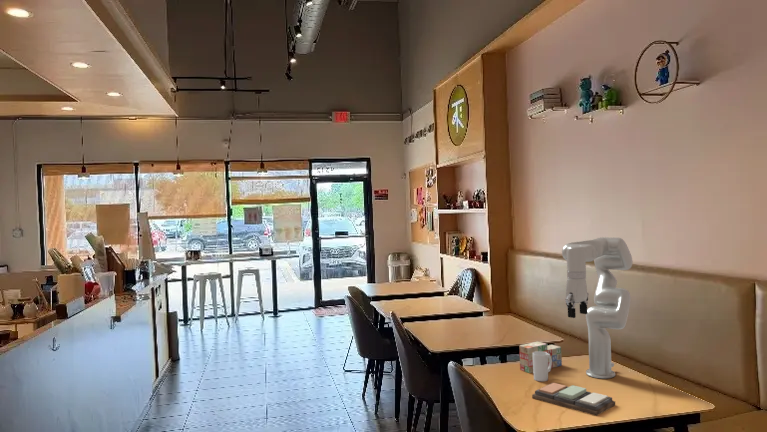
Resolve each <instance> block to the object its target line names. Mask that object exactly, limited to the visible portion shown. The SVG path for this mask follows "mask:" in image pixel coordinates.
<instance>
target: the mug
mask: <svg viewBox="0 0 767 432" xmlns="http://www.w3.org/2000/svg"><path fill="white" fill-rule="evenodd" d="M548 358H549V361H550V363H549V367H548ZM551 366H552V359H551V356H550V354H548V353H547V352H542V351H536V352H533V372H532V374H533V380H534V381H537V382H547V381H549V372H551V370H552V368H551Z"/></svg>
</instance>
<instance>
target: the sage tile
mask: <svg viewBox="0 0 767 432" xmlns="http://www.w3.org/2000/svg"><path fill="white" fill-rule="evenodd" d="M567 387H568V388H566V389H564V390H562V391H560V392H559V396H561V397H565V398H568V399H572V400H573V399H575V398H576V397H578V396H580V395H582V394H584V393H586V391H587V388H586V387H582V386H577V385H570V386H567Z"/></svg>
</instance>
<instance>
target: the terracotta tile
mask: <svg viewBox="0 0 767 432" xmlns="http://www.w3.org/2000/svg"><path fill="white" fill-rule="evenodd" d="M551 383H552V384H551ZM551 383H549V384H546V385H545V386H542V387H543V388H542V387H540V388H541V389H540V388H539V391H540V392H544V393H548V394H552V395H553V394H555V393H557V392H559V391H561V390H563V389H565V388H566V386H567V385H564V384H559V383H556V382H551Z"/></svg>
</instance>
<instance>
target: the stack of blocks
mask: <svg viewBox="0 0 767 432" xmlns="http://www.w3.org/2000/svg"><path fill="white" fill-rule="evenodd" d="M518 349H519V354H518V355H519V369H520V371H521V372H522V371H523V372H525V373H528V374H530V373H532V374H533V352H536V351H542V352H547V353H548V354H550V356H551V359H552V366H551V369H553V368H557V367H560V366H561V367H562V365H563V364H562V363H563V361H562V358H563V357H562V346H559V345H555V344H549V345H548V343H545V342H541V341H533V342H529V343H525V344H520V345H519V348H518ZM549 363H550V361H549V358H548V367H549Z"/></svg>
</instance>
